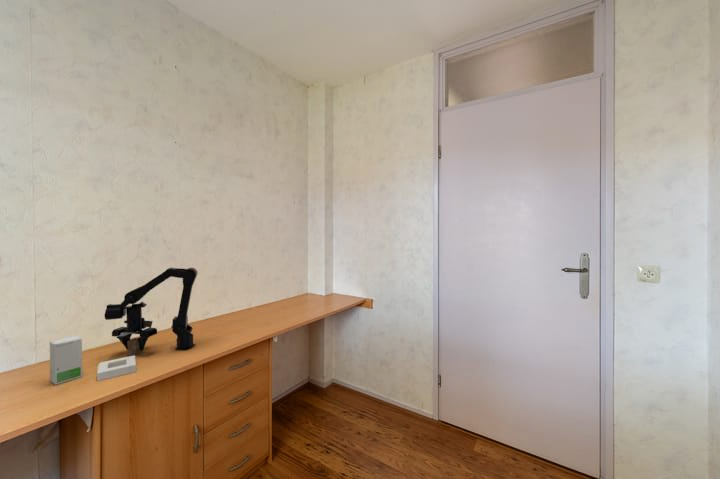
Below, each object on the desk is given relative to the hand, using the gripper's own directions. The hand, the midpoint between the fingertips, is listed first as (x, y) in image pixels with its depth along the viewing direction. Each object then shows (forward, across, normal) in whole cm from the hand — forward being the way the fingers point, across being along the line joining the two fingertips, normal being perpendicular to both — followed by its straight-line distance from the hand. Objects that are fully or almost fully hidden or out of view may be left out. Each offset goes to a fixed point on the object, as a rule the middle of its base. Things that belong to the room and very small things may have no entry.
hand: (135, 350), depth 141 cm
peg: (+2, 0, 0) cm, 2 cm away
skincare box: (+2, +7, +24) cm, 25 cm away
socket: (+2, -7, +16) cm, 18 cm away
